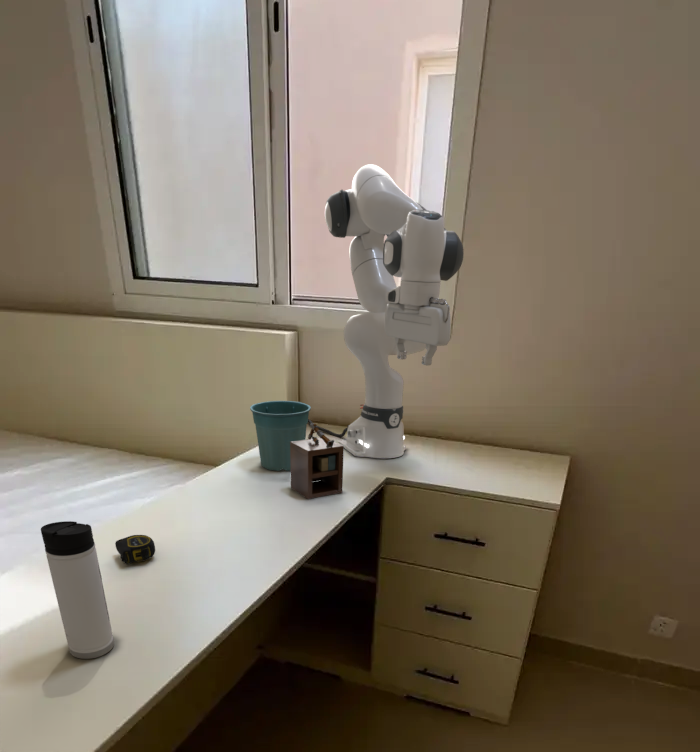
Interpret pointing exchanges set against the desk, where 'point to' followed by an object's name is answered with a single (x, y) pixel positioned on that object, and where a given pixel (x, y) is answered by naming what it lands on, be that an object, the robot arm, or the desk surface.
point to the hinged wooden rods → (320, 434)
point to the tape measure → (135, 548)
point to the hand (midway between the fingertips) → (413, 361)
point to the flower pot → (279, 430)
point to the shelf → (316, 468)
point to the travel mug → (78, 588)
